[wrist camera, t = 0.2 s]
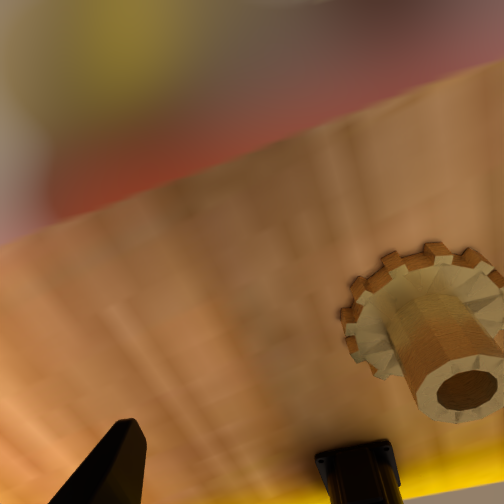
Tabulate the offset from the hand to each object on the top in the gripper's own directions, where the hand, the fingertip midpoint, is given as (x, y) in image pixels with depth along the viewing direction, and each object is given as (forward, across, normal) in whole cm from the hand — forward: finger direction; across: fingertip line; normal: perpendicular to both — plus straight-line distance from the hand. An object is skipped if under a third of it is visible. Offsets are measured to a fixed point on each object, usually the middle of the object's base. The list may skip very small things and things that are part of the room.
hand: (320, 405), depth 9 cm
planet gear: (+14, -8, +10) cm, 19 cm away
